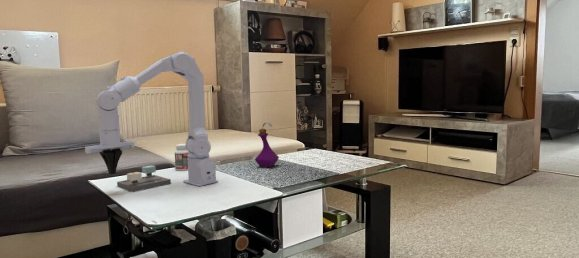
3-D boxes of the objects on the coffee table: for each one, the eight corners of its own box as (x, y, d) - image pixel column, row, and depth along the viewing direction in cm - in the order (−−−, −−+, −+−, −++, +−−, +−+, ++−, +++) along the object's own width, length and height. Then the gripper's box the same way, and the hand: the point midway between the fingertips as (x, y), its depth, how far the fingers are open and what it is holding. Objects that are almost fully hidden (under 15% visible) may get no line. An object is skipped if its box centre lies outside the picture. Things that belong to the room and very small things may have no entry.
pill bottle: (186, 171, 162) (185, 145, 161) (172, 170, 163) (171, 145, 162) (192, 168, 168) (191, 143, 167) (179, 167, 169) (178, 143, 168)
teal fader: (155, 175, 147) (155, 166, 146) (146, 177, 144) (145, 167, 144) (151, 174, 149) (151, 165, 148) (142, 176, 146) (141, 166, 146)
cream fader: (142, 182, 136) (141, 172, 136) (131, 184, 134) (130, 174, 133) (137, 181, 138) (137, 171, 138) (127, 183, 136) (126, 173, 135)
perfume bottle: (254, 167, 166) (253, 122, 164) (262, 164, 173) (261, 120, 171) (271, 168, 164) (270, 123, 162) (279, 165, 170) (278, 121, 168)
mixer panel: (170, 183, 142) (170, 179, 142) (132, 191, 132) (132, 186, 132) (154, 178, 150) (154, 174, 149) (117, 186, 140) (117, 181, 140)
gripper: (126, 127, 137) (128, 168, 138) (79, 131, 126) (82, 175, 128) (136, 128, 132) (139, 171, 133) (89, 133, 121) (92, 179, 123)
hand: (112, 173), depth 130 cm, fingers closed
